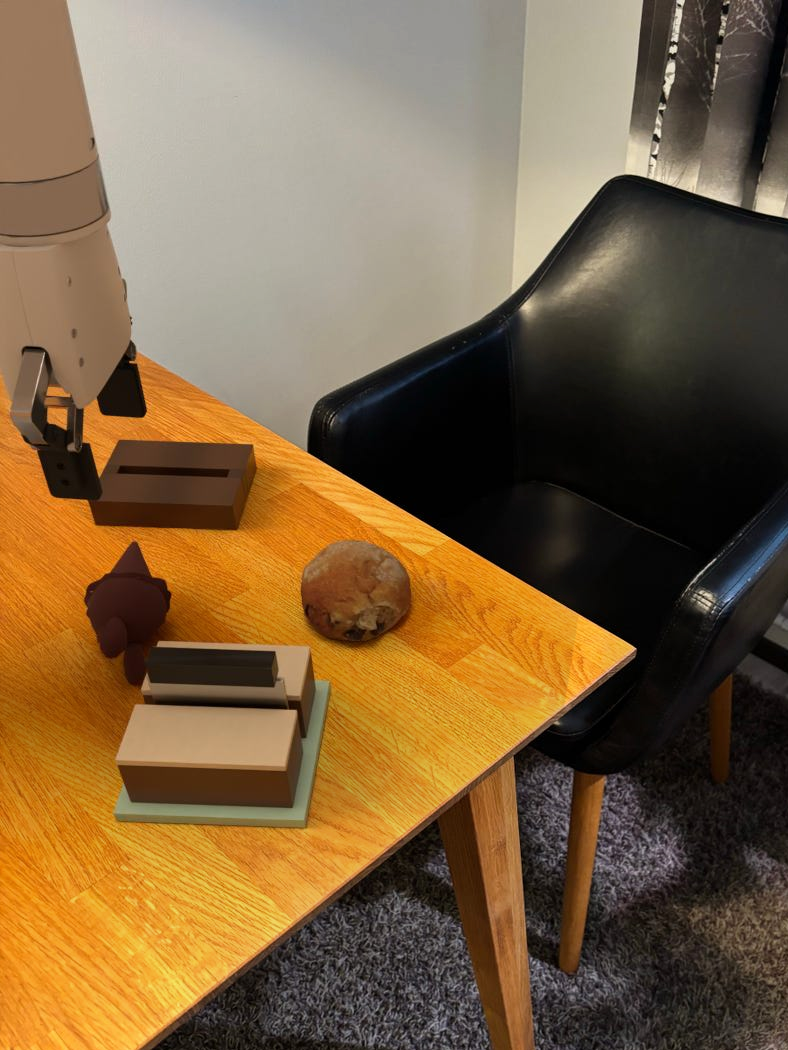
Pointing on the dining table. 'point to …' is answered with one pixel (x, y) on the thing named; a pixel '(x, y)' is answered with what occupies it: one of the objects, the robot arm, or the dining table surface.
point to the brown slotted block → (175, 484)
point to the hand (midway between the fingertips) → (102, 453)
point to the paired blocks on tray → (226, 753)
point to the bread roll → (354, 590)
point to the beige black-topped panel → (215, 678)
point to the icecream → (127, 610)
